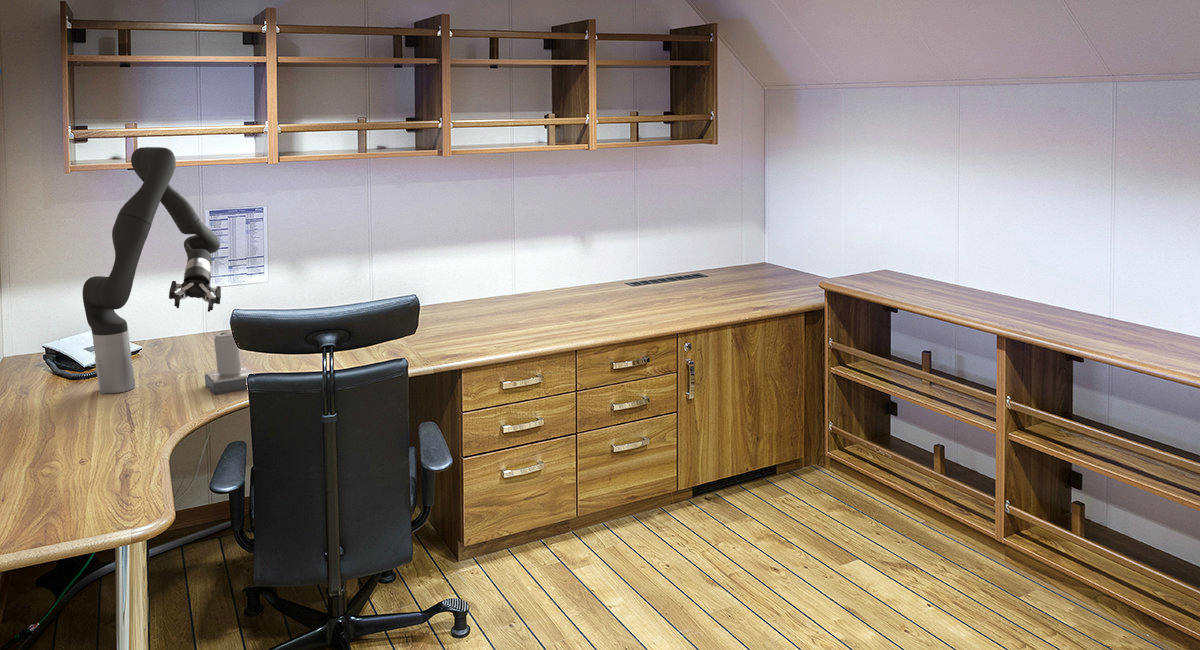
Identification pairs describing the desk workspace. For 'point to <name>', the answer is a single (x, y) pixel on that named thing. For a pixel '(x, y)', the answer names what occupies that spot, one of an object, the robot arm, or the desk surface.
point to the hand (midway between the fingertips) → (193, 307)
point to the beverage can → (227, 354)
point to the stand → (226, 381)
